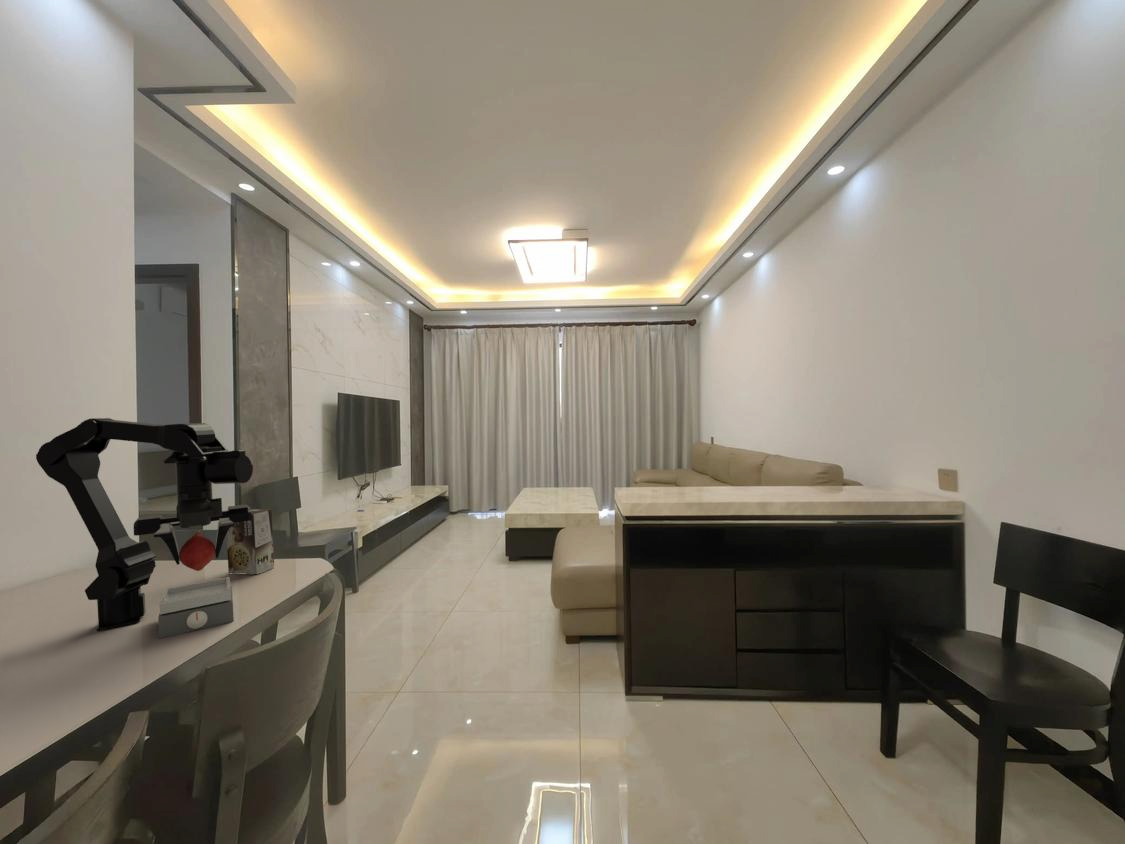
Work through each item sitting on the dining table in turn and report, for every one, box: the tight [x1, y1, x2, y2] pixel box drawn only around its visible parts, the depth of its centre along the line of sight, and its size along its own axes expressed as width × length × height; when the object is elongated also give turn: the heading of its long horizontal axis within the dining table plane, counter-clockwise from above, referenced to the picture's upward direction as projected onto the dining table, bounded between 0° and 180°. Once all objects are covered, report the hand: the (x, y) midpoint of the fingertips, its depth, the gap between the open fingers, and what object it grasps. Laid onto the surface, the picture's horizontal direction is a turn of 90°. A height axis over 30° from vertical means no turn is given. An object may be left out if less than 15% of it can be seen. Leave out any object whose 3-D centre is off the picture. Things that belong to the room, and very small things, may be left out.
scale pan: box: [159, 576, 231, 615], centre depth 98 cm, size 11×11×2 cm
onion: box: [179, 531, 216, 572], centre depth 98 cm, size 6×6×8 cm
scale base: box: [157, 585, 235, 639], centre depth 98 cm, size 12×12×4 cm
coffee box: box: [225, 508, 275, 575], centre depth 129 cm, size 9×6×16 cm
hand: (197, 560), depth 98 cm, fingers closed on onion, 6 cm apart
